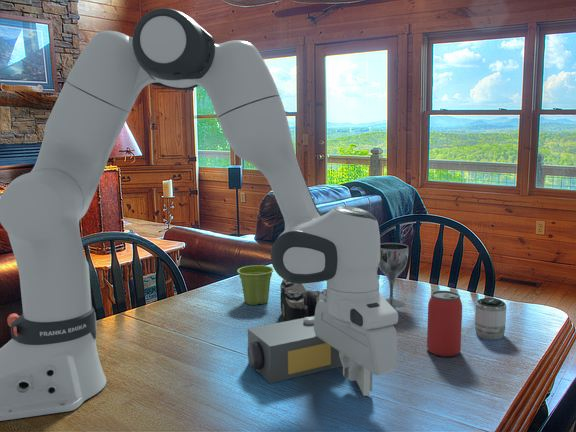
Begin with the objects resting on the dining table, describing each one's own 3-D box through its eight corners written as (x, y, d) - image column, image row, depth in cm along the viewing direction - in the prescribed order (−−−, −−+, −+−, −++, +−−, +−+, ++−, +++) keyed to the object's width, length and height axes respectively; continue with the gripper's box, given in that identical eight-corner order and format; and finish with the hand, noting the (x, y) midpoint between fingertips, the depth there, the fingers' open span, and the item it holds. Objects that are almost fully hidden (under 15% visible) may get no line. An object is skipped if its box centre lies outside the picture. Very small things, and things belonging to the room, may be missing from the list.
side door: (373, 395, 96) (373, 367, 95) (363, 395, 96) (364, 368, 95) (357, 365, 108) (357, 340, 107) (348, 365, 107) (348, 340, 107)
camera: (333, 332, 126) (333, 289, 124) (288, 336, 124) (287, 292, 123) (317, 309, 141) (317, 271, 140) (277, 312, 139) (276, 273, 138)
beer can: (455, 360, 110) (457, 301, 108) (422, 353, 114) (424, 296, 112) (464, 349, 116) (466, 292, 114) (432, 342, 119) (434, 287, 117)
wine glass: (411, 301, 147) (413, 244, 144) (400, 309, 140) (401, 250, 138) (382, 296, 151) (383, 241, 148) (370, 304, 144) (371, 247, 142)
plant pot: (231, 305, 145) (230, 272, 144) (248, 294, 154) (247, 263, 152) (264, 309, 142) (264, 275, 140) (279, 298, 150) (279, 266, 149)
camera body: (265, 385, 101) (264, 343, 99) (242, 364, 110) (241, 325, 108) (346, 365, 108) (346, 326, 107) (319, 347, 117) (319, 311, 116)
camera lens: (509, 334, 123) (511, 299, 122) (497, 342, 119) (499, 306, 118) (481, 327, 128) (483, 294, 126) (469, 335, 123) (470, 300, 122)
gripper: (305, 288, 104) (305, 359, 106) (372, 323, 86) (370, 408, 88) (334, 283, 107) (333, 353, 109) (405, 316, 89) (402, 398, 91)
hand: (350, 378), depth 98 cm, fingers closed
